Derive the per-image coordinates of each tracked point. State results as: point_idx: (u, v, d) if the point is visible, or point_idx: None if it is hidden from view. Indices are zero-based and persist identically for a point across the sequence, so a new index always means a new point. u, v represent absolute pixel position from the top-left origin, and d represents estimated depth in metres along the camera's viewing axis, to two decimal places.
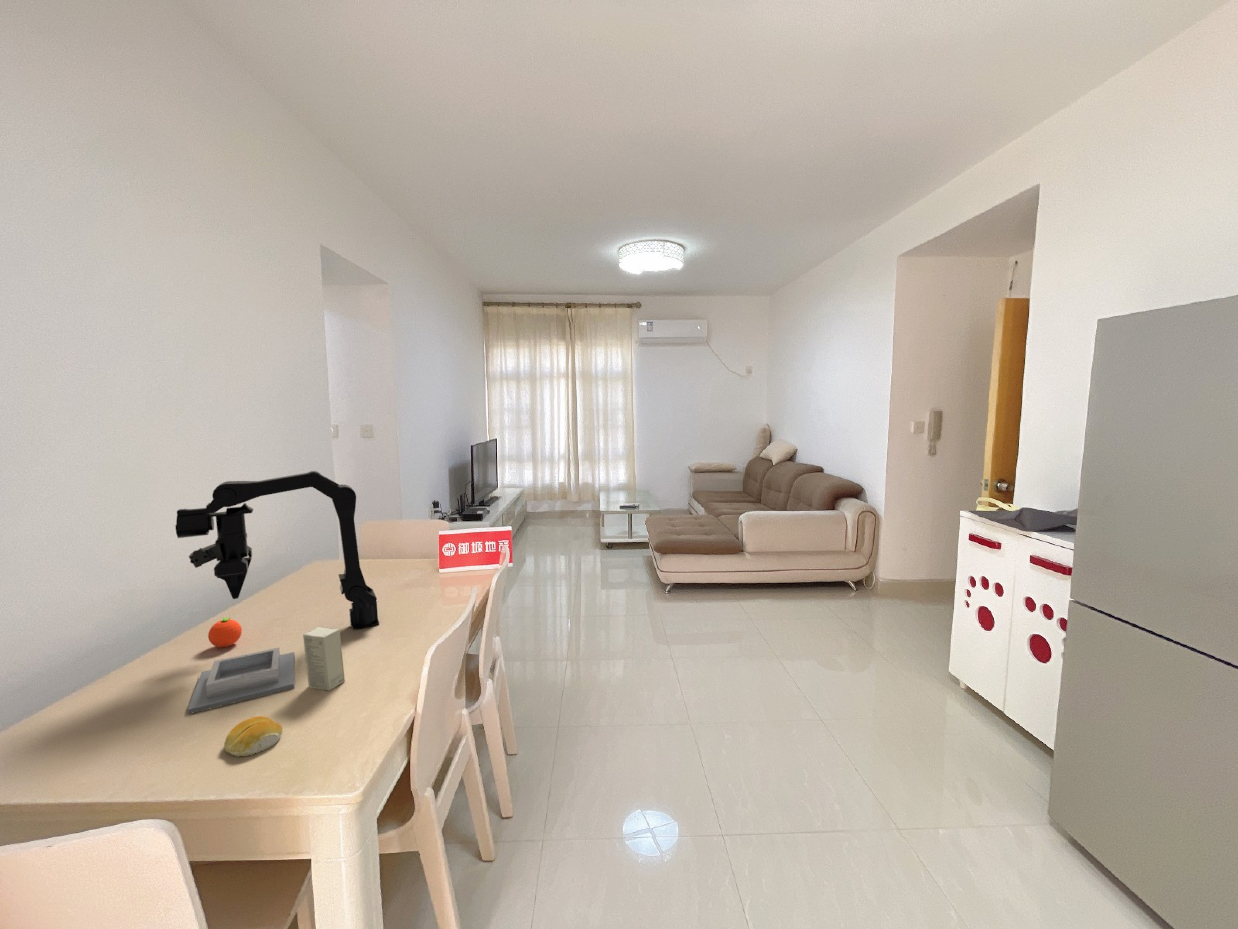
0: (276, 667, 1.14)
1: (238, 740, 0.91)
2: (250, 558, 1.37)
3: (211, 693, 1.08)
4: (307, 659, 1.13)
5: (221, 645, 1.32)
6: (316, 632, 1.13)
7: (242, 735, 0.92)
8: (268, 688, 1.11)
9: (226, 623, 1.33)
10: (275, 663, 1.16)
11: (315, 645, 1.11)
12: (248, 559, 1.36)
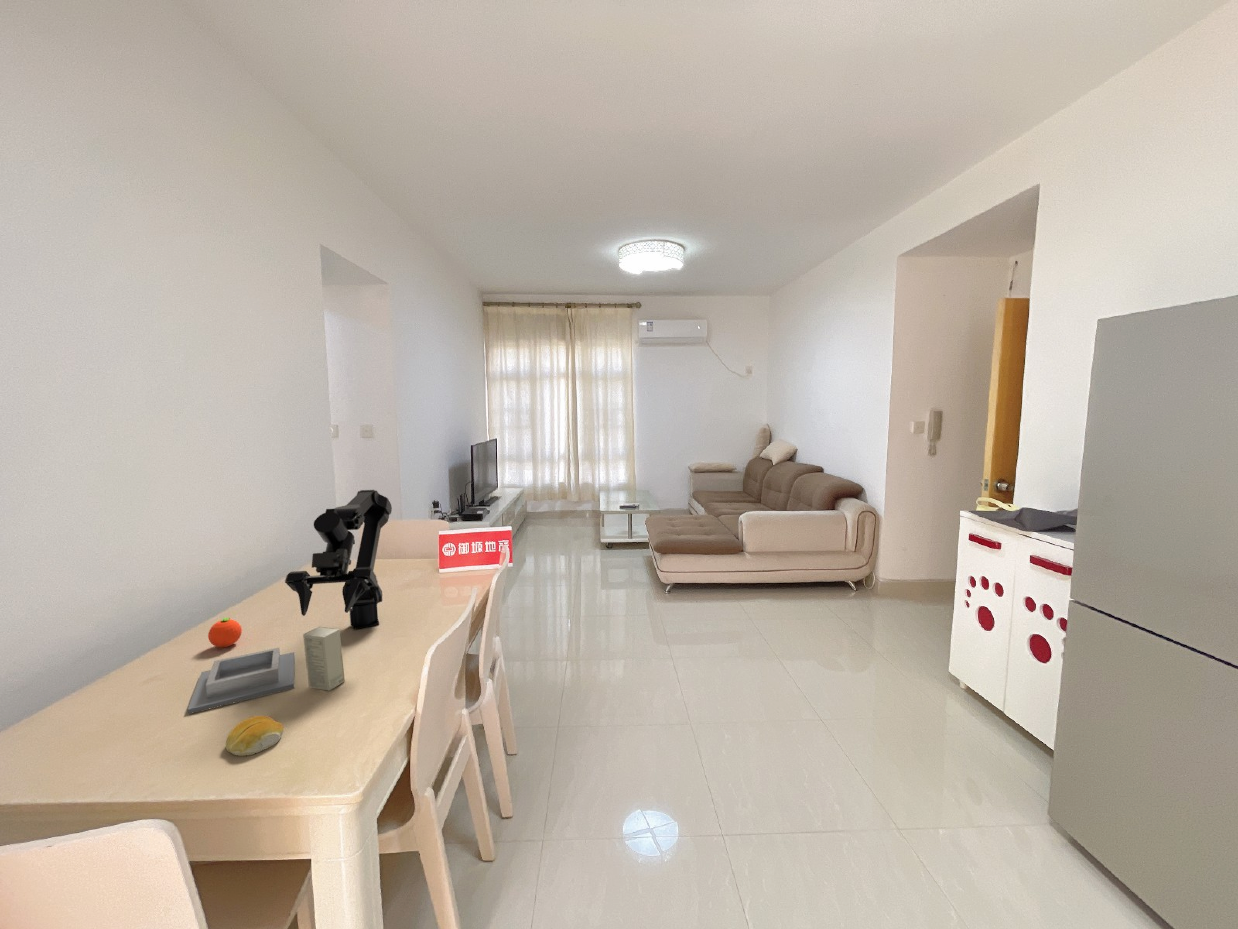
0: (276, 667, 1.14)
1: (239, 739, 0.91)
2: None
3: (211, 693, 1.08)
4: (307, 659, 1.13)
5: (221, 645, 1.32)
6: (316, 632, 1.13)
7: (243, 734, 0.92)
8: (268, 688, 1.11)
9: (226, 623, 1.33)
10: (275, 663, 1.16)
11: (315, 645, 1.11)
12: None
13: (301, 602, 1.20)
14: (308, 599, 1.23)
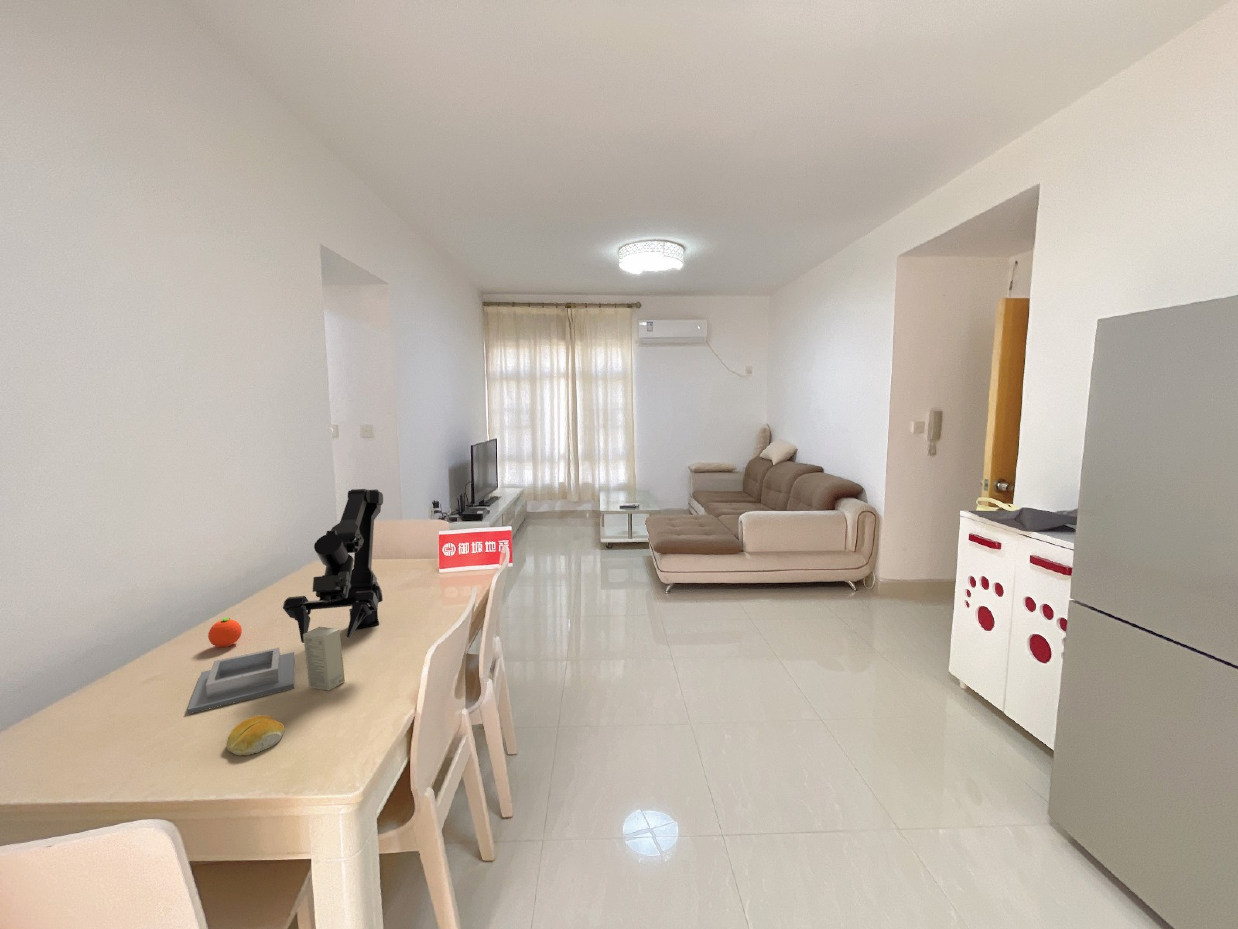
0: (276, 667, 1.14)
1: (240, 739, 0.91)
2: None
3: (211, 693, 1.08)
4: (307, 659, 1.13)
5: (221, 645, 1.32)
6: (316, 632, 1.13)
7: (244, 734, 0.92)
8: (268, 688, 1.11)
9: (226, 623, 1.33)
10: (275, 663, 1.16)
11: (315, 645, 1.11)
12: None
13: (300, 628, 1.15)
14: (307, 625, 1.18)
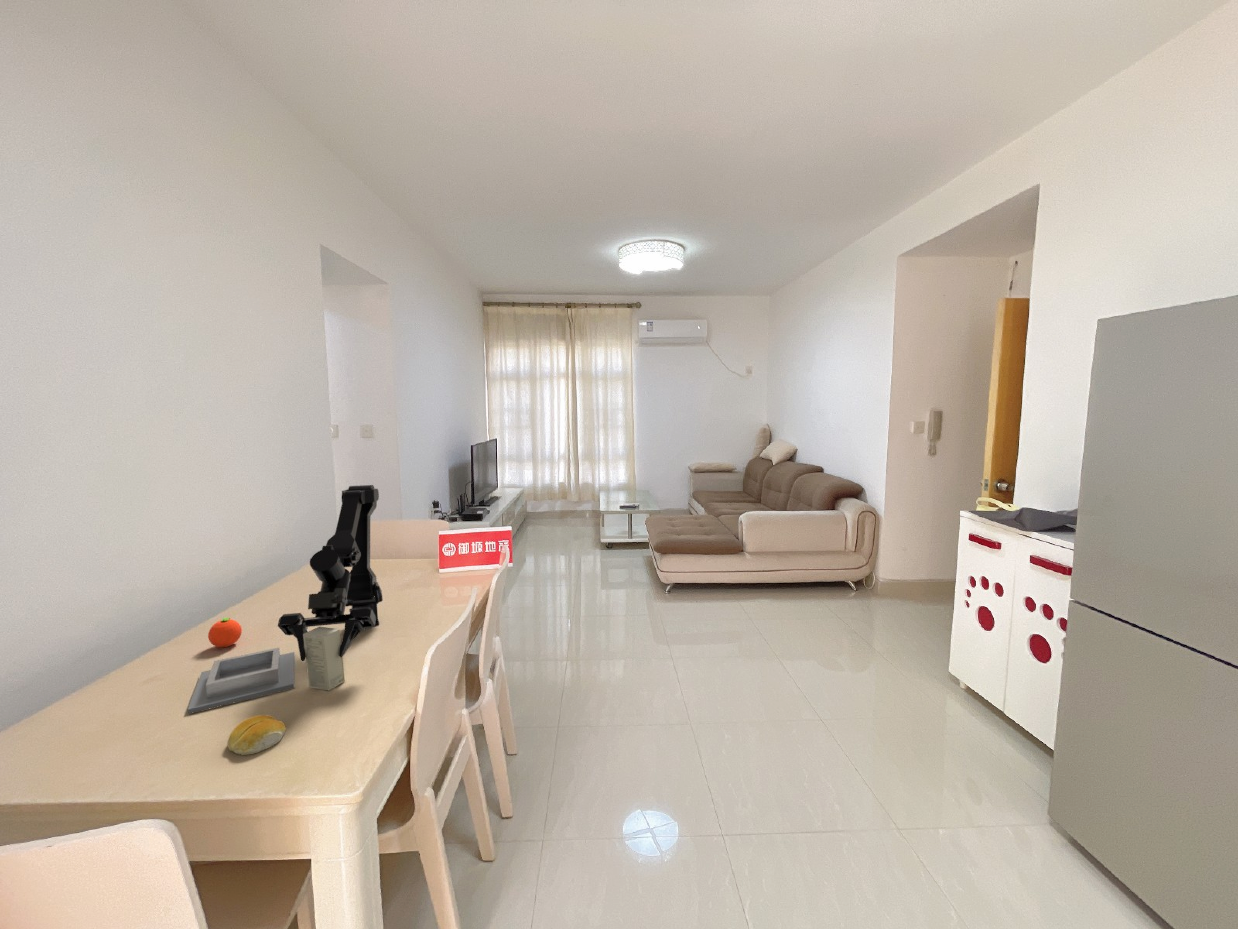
0: (276, 667, 1.14)
1: (241, 738, 0.91)
2: None
3: (211, 693, 1.08)
4: (307, 659, 1.13)
5: (221, 645, 1.32)
6: (316, 632, 1.13)
7: (245, 733, 0.92)
8: (268, 688, 1.11)
9: (226, 623, 1.33)
10: (275, 663, 1.16)
11: (315, 645, 1.11)
12: None
13: (300, 647, 1.12)
14: None
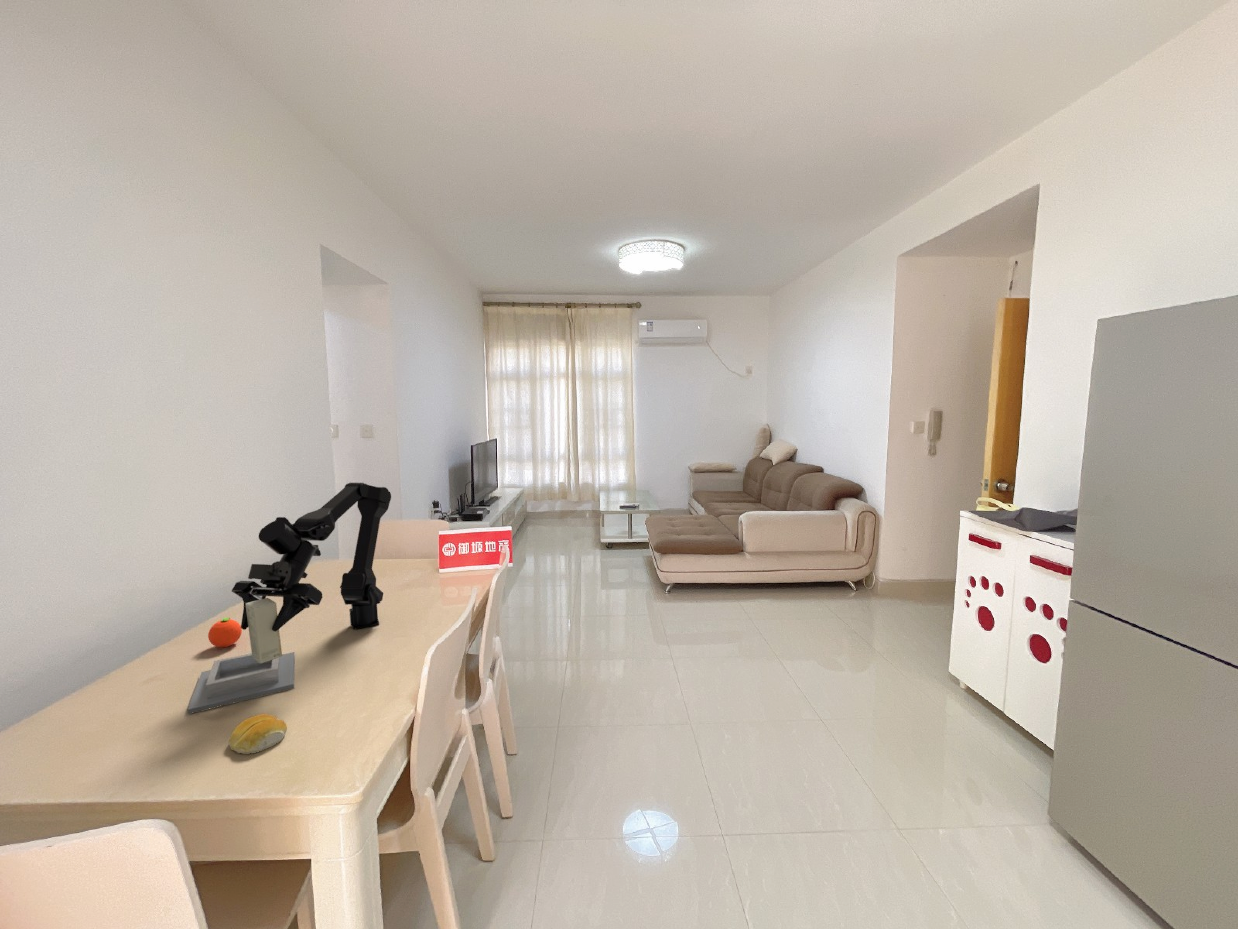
0: (276, 667, 1.14)
1: (243, 737, 0.92)
2: None
3: (211, 693, 1.08)
4: (249, 628, 1.13)
5: (221, 645, 1.32)
6: (256, 603, 1.13)
7: (247, 733, 0.92)
8: (268, 688, 1.11)
9: (226, 623, 1.33)
10: (275, 663, 1.16)
11: (250, 616, 1.11)
12: None
13: (243, 615, 1.13)
14: None
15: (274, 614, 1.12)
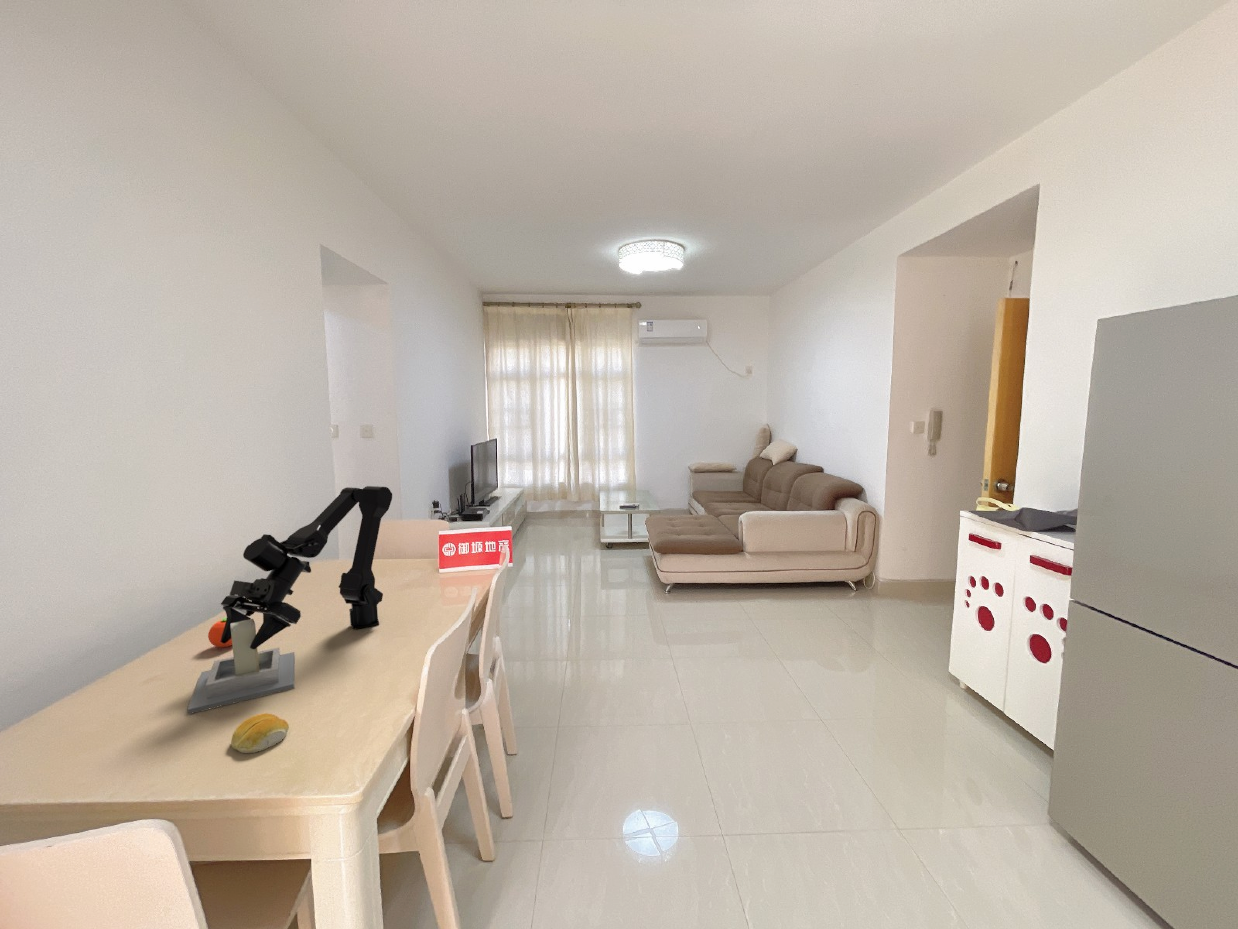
0: (276, 667, 1.14)
1: (245, 737, 0.92)
2: None
3: (211, 693, 1.08)
4: None
5: (221, 645, 1.32)
6: (239, 624, 1.15)
7: (249, 732, 0.93)
8: (268, 688, 1.11)
9: None
10: (275, 663, 1.16)
11: None
12: (247, 617, 1.22)
13: (224, 629, 1.16)
14: None
15: (253, 637, 1.14)
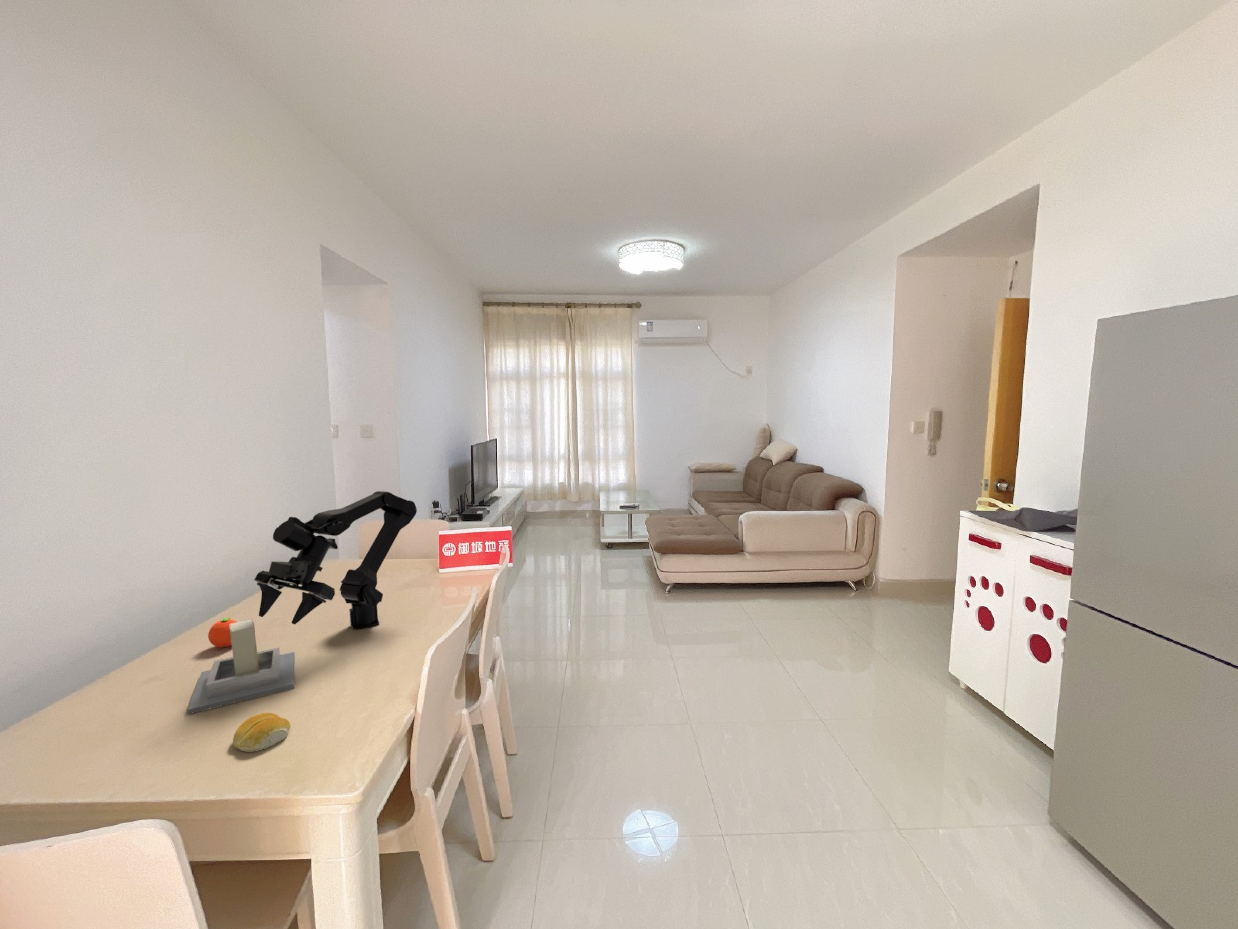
0: (276, 667, 1.14)
1: (247, 736, 0.92)
2: None
3: (211, 693, 1.08)
4: None
5: (221, 645, 1.32)
6: (238, 624, 1.15)
7: (251, 731, 0.93)
8: (268, 688, 1.11)
9: (226, 623, 1.33)
10: (275, 663, 1.16)
11: None
12: None
13: (261, 604, 1.25)
14: (272, 600, 1.27)
15: (252, 637, 1.14)
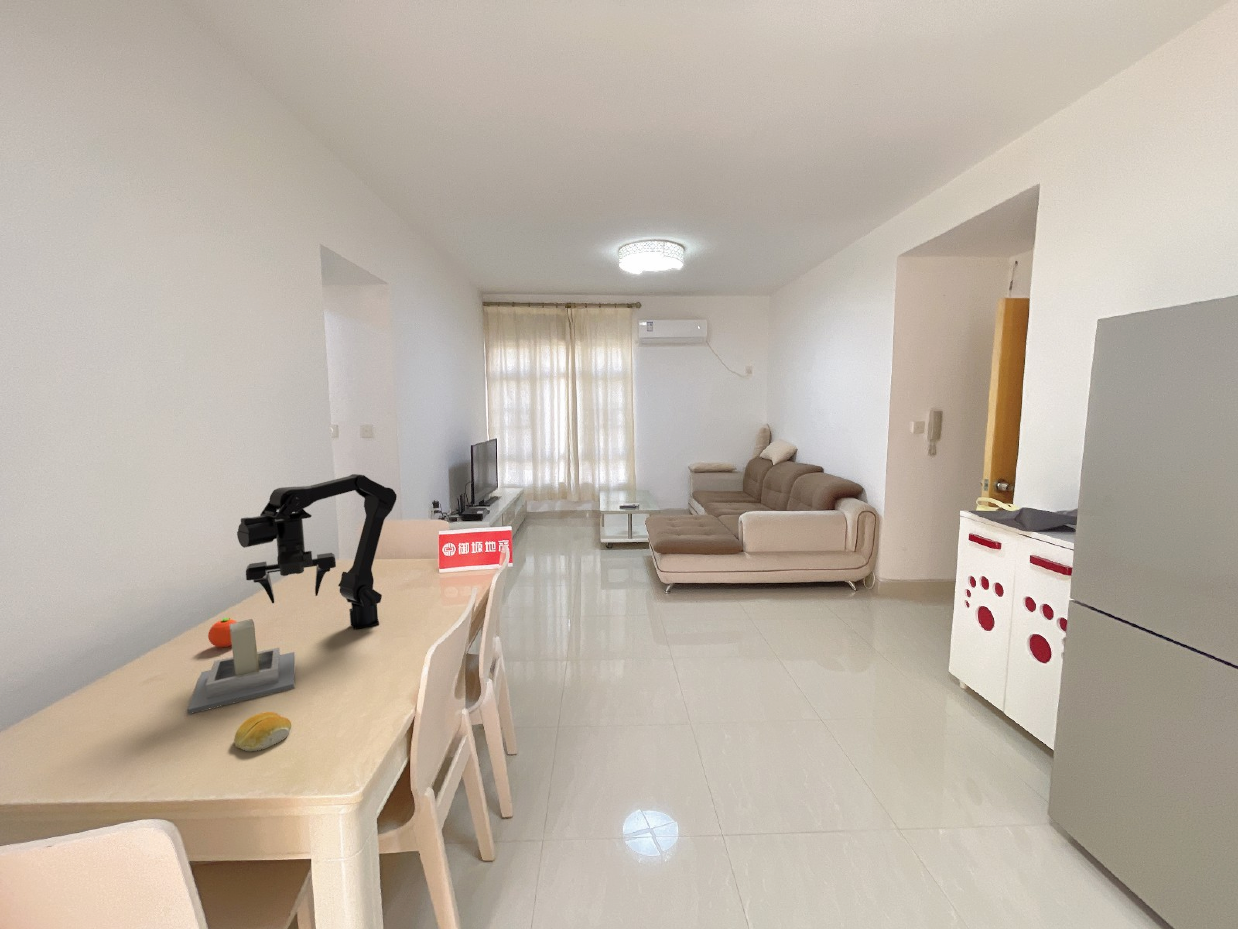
0: (276, 667, 1.14)
1: (248, 735, 0.92)
2: None
3: (211, 693, 1.08)
4: None
5: (221, 645, 1.32)
6: (238, 624, 1.15)
7: (252, 730, 0.93)
8: (268, 688, 1.11)
9: (226, 623, 1.33)
10: (275, 663, 1.16)
11: None
12: None
13: (269, 594, 1.27)
14: (271, 585, 1.29)
15: (252, 637, 1.14)
